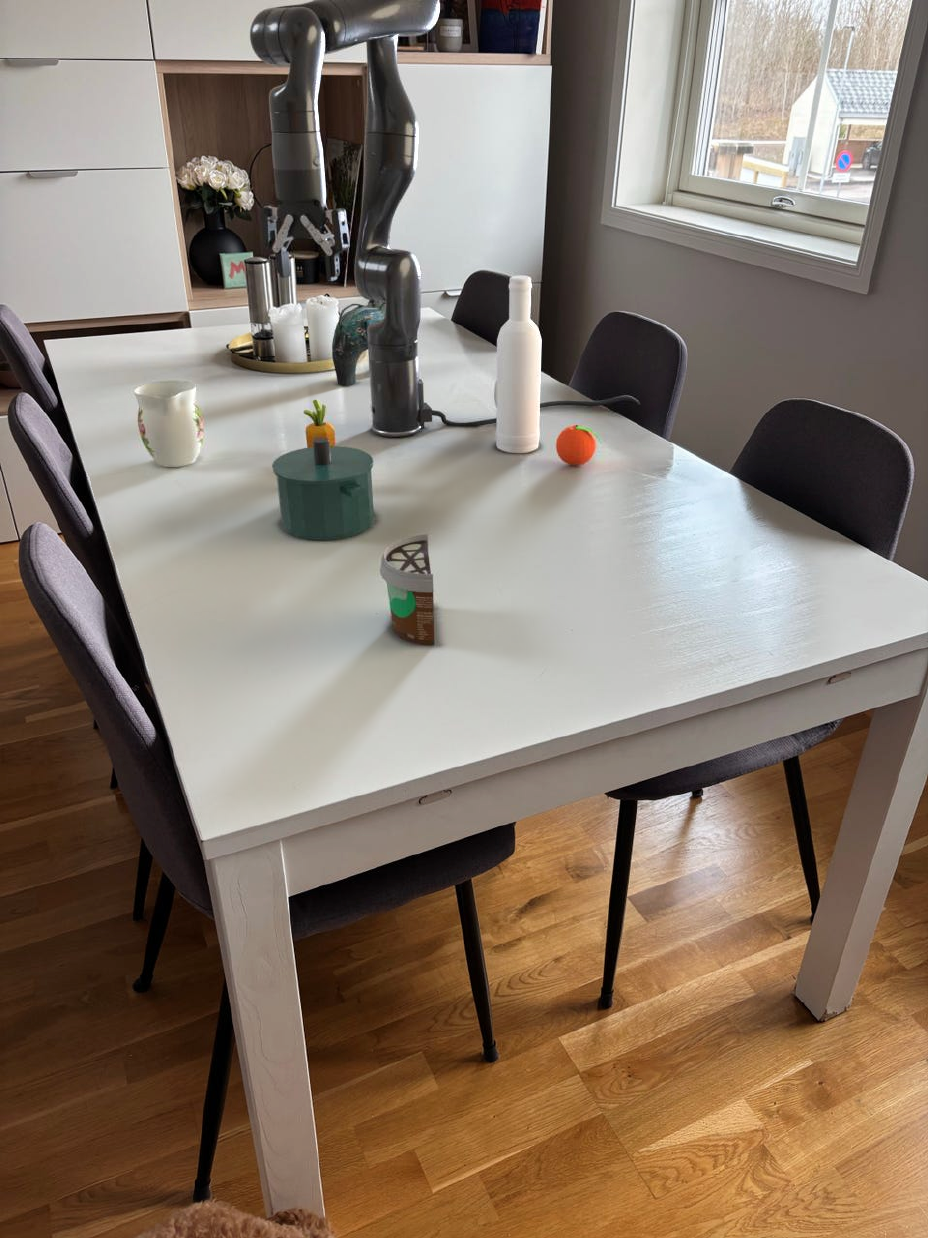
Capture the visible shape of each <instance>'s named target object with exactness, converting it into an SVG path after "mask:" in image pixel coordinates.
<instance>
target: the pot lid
mask: <svg viewBox="0 0 928 1238" xmlns="http://www.w3.org/2000/svg"><path fill="white" fill-rule="evenodd" d="M373 467H374V459H373V457H372V455H371V454H369V453H368V452H366V451H365V450H362V449H359V448H355V447H350V446H344V445H343V446H342V445H335V446H330V444H329V439H328V438H316V439H314V440H313V447H309V448H307V447H303V448H298V449H296V450H292V451H289V452H286V453H284V454H282V455H280V456H278V457H277V458H276V459H275V460H274V461H273V463H272V468H271V469H272V472H273V474H274V475H275V477H276V476H277V477H279V478H281V479H283V480H285V481H289V482H293V483H298V484H309V485H321V484H333V483H340V482H345V481H349V480H352V479H355V478H358V477H361V476H363V475H365V474H366V473H368V472H369V471H370V470H371V471H372V469H373Z"/></svg>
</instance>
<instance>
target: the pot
mask: <svg viewBox="0 0 928 1238" xmlns="http://www.w3.org/2000/svg"><path fill="white" fill-rule="evenodd" d="M275 477H276V485H277V494H278V502H279V503H278V505H279V512H280V513H279V514H280V520H281V524H282V529H283V530H284V532H285V533H287V534H289V535H291V536H293V537H295V538H298V539H303V540H308V541H309V540H310V541H334V540H335V541H336V540H341V539H342V540H343V539H347V538H350V537H353V536H356V535H358V534H361V533H363V532H366V530H368V529H369V528H370V527H371V526H372V524H373V523H374V518H375V511H374V493H373V477H372V469H371V470H370V471H369V472H368V473H366V474H365V475H363V476H361V477H358V478H355V479H352V480H349V481H345V482H340V483H333V484H321V485H309V484H298V483H293V482H289V481H285V480H283V479H281V478H279V477H277V476H276V475H275Z"/></svg>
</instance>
